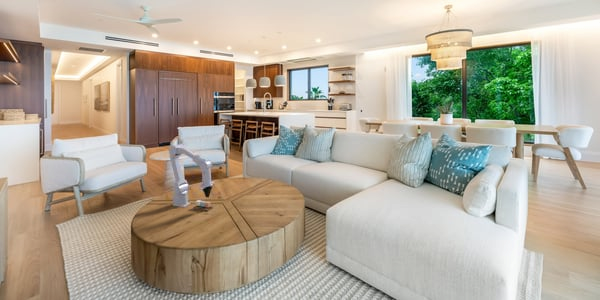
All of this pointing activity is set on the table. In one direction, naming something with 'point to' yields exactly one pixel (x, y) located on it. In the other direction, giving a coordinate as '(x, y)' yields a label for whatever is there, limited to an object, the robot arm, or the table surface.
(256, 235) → the table surface
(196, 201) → the cream cube
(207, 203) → the key terracotta
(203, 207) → the brown flat frame
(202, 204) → the key slate
